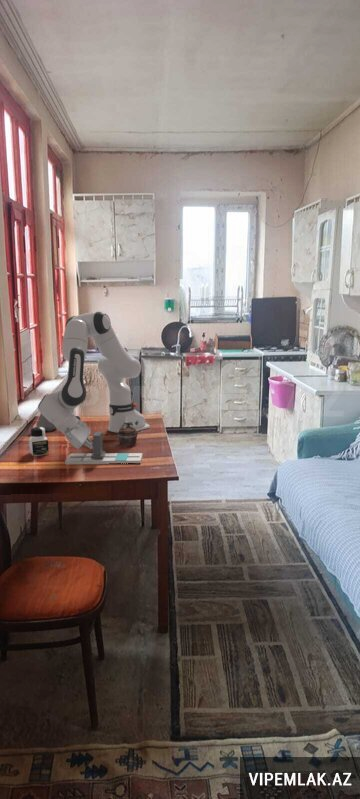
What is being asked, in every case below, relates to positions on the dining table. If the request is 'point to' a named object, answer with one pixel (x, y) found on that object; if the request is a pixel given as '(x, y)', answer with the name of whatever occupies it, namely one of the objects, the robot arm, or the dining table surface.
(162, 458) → the dining table surface
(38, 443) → the medicine bottle
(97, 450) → the fader cap
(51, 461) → the dining table surface
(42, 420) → the coffee pot
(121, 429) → the cupcake
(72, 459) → the console track
